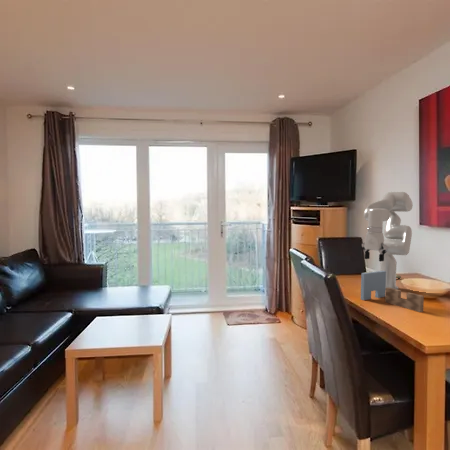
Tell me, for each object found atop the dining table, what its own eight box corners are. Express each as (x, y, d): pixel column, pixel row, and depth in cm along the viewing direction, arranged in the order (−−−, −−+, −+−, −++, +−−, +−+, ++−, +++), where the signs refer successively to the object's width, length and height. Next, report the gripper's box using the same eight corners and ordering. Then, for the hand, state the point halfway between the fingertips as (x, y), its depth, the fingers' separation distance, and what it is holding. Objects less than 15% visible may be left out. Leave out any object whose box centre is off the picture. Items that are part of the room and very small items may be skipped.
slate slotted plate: (363, 300, 190) (364, 273, 189) (360, 299, 192) (361, 273, 191) (385, 296, 198) (386, 271, 197) (382, 295, 200) (383, 270, 199)
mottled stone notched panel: (385, 302, 186) (385, 287, 186) (388, 301, 187) (388, 287, 187) (420, 312, 168) (420, 296, 168) (423, 311, 170) (423, 296, 169)
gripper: (358, 229, 199) (357, 258, 199) (383, 231, 183) (382, 262, 184) (367, 229, 202) (366, 257, 203) (393, 231, 187) (391, 261, 187)
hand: (374, 260), depth 193 cm, fingers open, 9 cm apart
